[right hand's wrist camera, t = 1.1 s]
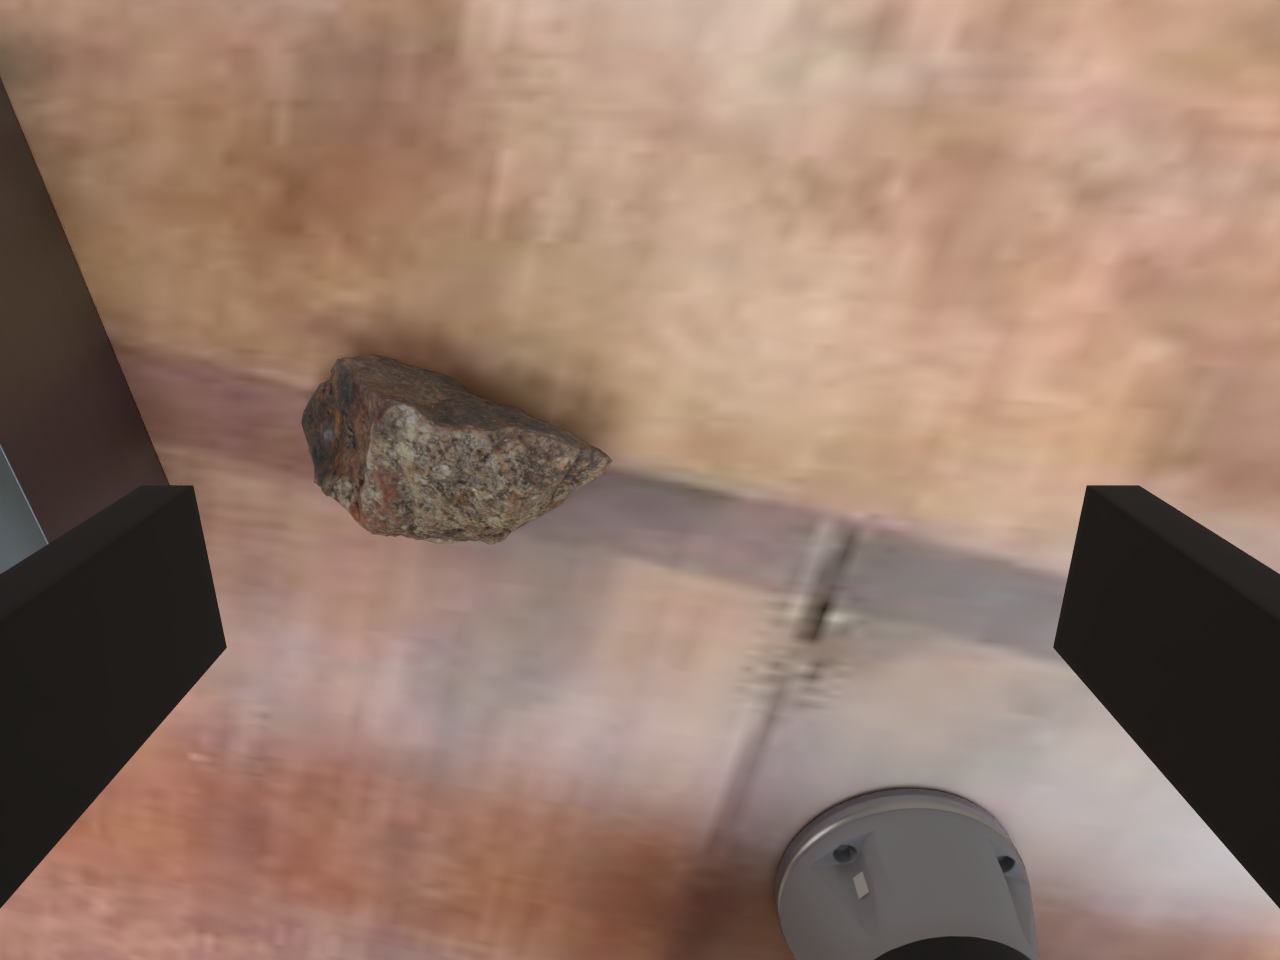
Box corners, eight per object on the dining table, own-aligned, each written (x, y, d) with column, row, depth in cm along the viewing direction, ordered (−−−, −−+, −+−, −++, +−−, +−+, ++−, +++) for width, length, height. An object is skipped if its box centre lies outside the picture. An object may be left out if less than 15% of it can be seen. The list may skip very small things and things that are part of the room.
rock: (353, 289, 39) (296, 467, 42) (262, 315, 31) (200, 533, 34) (630, 415, 40) (553, 579, 44) (611, 473, 32) (519, 669, 35)
